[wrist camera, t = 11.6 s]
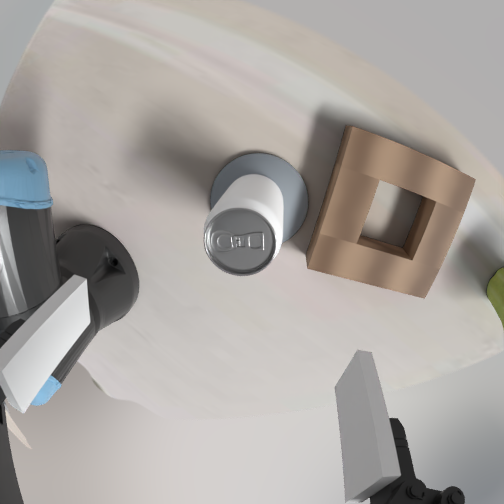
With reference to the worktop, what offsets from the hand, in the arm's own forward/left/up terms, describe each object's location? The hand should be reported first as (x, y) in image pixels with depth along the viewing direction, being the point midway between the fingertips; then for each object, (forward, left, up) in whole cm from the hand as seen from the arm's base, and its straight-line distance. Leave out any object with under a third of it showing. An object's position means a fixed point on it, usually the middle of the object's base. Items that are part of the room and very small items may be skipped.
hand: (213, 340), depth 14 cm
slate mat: (0, 0, -24) cm, 24 cm away
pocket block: (+15, +3, -24) cm, 28 cm away
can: (0, 0, -23) cm, 23 cm away
